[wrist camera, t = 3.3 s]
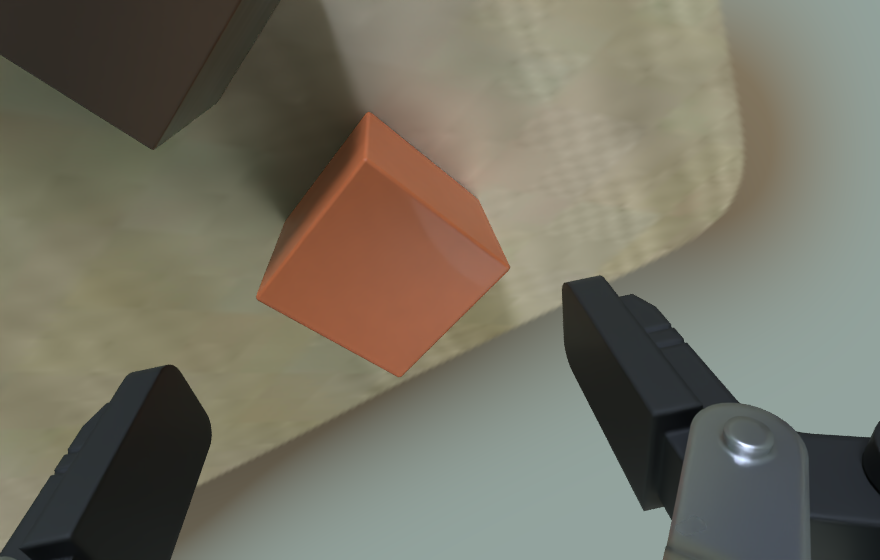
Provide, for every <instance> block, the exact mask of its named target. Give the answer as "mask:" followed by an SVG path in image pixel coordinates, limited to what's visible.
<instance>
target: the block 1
mask: <svg viewBox="0 0 880 560" xmlns="http://www.w3.org/2000/svg"><path fill="white" fill-rule="evenodd" d="M279 1H280V0H0V55H2V56H3V57H5V58H6V59H8V60H10V61H11V62H13V63H14V64H16V65H18V66H19V67H21V68H22V69H24V70H26V71H27V72H29V73H30V74H32V75H33V76H35V77H37V78H38V79H40V80H41V81H43V82H45V83H46V84H48V85H49V86H51V87H53V88H54V89H56V90H57V91H59V92H61V93H62V94H64V95H65V96H67V97H69V98H70V99H72V100H73V101H75V102H77V103H78V104H80V105H81V106H83V107H85V108H86V109H88V110H89V111H91V112H93V113H94V114H96V115H97V116H99V117H101V118H102V119H104V120H105V121H107V122H109V123H110V124H112V125H113V126H115V127H117V128H118V129H120V130H121V131H123V132H124V133H126V134H128V135H129V136H131V137H132V138H134V139H136V140H137V141H139V142H140V143H142V144H144V145H145V146H147V147H148V148H150V149H152V150H154V149H156V148H157V147H158V146H160V145H161V144H162V143H164V142H165V141H166V140H168V139H169V138H170V137H172V136H173V135H175V134H176V133H177V132H179V131H180V130H181V129H183V128H184V127H185V126H187V125H188V124H189V123H191V122H192V121H193V120H195V119H196V118H197V117H199V116H200V115H201V114H203V113H204V112H205V111H207V110H208V109H209V108H211V107H212V106H214V105H215V104H216V103H217V102H218V100H219V99H220V97H221V95H222V94H223V92H224V91H225V89H226V87H227V86H228V84H229V82H230V81H231V79H232V78H233V76H234V74H235V73H236V71H237V69H238V68H239V66H240V65H241V63H242V61H243V60H244V58H245V56H246V55H247V53H248V52H249V50H250V48H251V47H252V45H253V43H254V42H255V40H256V39H257V37H258V35H259V34H260V32H261V30H262V29H263V27H264V26H265V24H266V22H267V21H268V19H269V17H270V16H271V14H272V13H273V11H274V9H275V8H276V6H277V4H278V3H279Z"/></svg>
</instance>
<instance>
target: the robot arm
mask: <svg viewBox="0 0 880 560" xmlns="http://www.w3.org/2000/svg"><path fill="white" fill-rule="evenodd" d="M562 304H563V329H564V345H565V351H566V355H567V359H568V362H569V365H570V367H571V369H572V372H573V374H574V375H575V378H576V379H577V381H578V383H579V385H580V387H581V389H582V391H583V393H584V395H585V397H586V399H587V401H588V403H589V405H590V407H591V409H592V411H593V413H594V415H595V417H596V419H597V421H598V422H599V424H600V426H601V428H602V430H603V432H604V434H605V436H606V438H607V440H608V442H609V444H610V446H611V448H612V450H613V452H614V454H615V456H616V458H617V460H618V462H619V464H620V465H621V467H622V469H623V471H624V473H625V475H626V477H627V479H628V481H629V483H630V485H631V487H632V489H633V491H634V493H635V495H636V497H637V499H638V501H639V503H640V505H641V506H642V508H643V510H644V511H646V510H651V509H655V508H660V507H665V509H666V511H667V513H668V515H669V516H670V518H671V520H672V522H671V527H670V532H669V537H668V542H667V546H666V548H665V552H664V556H663V560H880V421H879V423H878V424H877V426H876V427H875V430H874V432H873V434H872V436H871V438H870V437H853V436H838V435H822V434H810V433H801V432H797V431H795V430H794V429H793V428H792V427H791V426H790V425H789V424H788V423H786V422H785V421H783V420H782V419H780V418H779V417H778V416H776V415H774V414H772V413H770V412H768V411H766V410H763V409H761V408H758V407H754V406H751V405H746V404H741V403H739V402H738V401H737V400H736V399H735V397H734V396H733V395H732V394H731V393H730V392H729V391H728V390H727V388H726V387H725V386H724V385H723V384H722V383H721V381H720V380H719V379H718V378H717V377H716V376H715V374H714V373H713V372H712V371H711V370H710V369H709V368H708V366H707V365H706V364H705V363H704V362H703V361H702V359H701V358H700V357H699V356H698V355H697V354H696V353H695V351H694V350H693V349H692V348H691V347H690V346H689V345H688V343H685V342H684V339H683V338H682V336H681V335H680V334H679V333H678V332H677V331H676V329H675V328H672V327H671V324H670V323H669V321H668V320H667V319H666V318H665V317H664V316H663V315H662V313H661V312H660V311H659V310H658V309H657V308H656V307H655V306H653V305H652V304H650V303H648V302H646V301H644V300H643V299H641V298H639V297H637V296H635V295H634V294H630V295H625V296H621V297H619V296H618V295H617V294H616V292H615V291H614V290H613V289H612V287H611V286H610V285H609V283H608V282H607V281H606V280H605V278H604V277H602V276H600V275H599V276H594V277H590V278H585V279H580V280H575V281H571V282H566V283H564V284H563V287H562ZM211 437H212V431H211V424H210V420H209V417H208V415H207V413H206V412H205V410H204V409H203V407H202V405H201V404H200V402H199V401H198V399H197V397H196V396H195V394H194V393H193V391H192V389H191V388H190V386H189V385H188V383H187V381H186V380H185V378H184V377H183V375H182V373H181V372H180V371H179V369H178V368H177V367H175V366H173V365H165V366H160V367H155V368H150V369H146V370H141V371H136V372H132V373H130V374H128V375H127V376H126V377H125V379H124V380H123V382H122V383H121V385H120V386H119V388H118V390H117V391H116V393H115V395H114V396H113V398H112V399H111V401H110V403H107V404H106V405H104V406H103V407H102V408H101V409H100V410H99V411H98V412H97V413H96V414H95V415H94V416H93V417H92V418H91V419H90V420H89V421H88V422H87V423H86V424H85V425H84V426H83V427H82V428H81V430H80V431H79V433H78V435H77V436H76V438H75V439H74V441H73V442H72V444H71V445H70V447H69V448H68V454H66V455H64V456H63V458H62V459H61V461H60V462H59V464H58V465H57V467H56V468H55V470H54V471H55V475H51V476H50V478H49V479H48V481H47V482H46V484H45V485H44V487H43V488H42V490H41V491H40V493H39V495H38V496H37V498H36V499H35V501H34V502H33V504H32V505H31V507H30V508H29V510H28V512H27V513H26V515H25V516H24V518H23V519H22V521H21V522H20V524H19V525H18V527H17V528H16V530H15V532H14V533H13V535H12V536H11V538H10V539H9V541H8V542H7V544H6V545H5V547H4V548H3V550H2V552H1V553H0V560H170V559H171V556H172V553H173V550H174V547H175V545H176V542H177V539H178V536H179V533H180V530H181V528H182V525H183V522H184V519H185V516H186V513H187V510H188V508H189V505H190V502H191V499H192V496H193V493H194V490H195V488H196V485H197V482H198V479H199V476H200V473H201V470H202V467H203V465H204V462H205V459H206V456H207V453H208V450H209V447H210V444H211Z"/></svg>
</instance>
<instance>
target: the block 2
mask: <svg viewBox="0 0 880 560" xmlns="http://www.w3.org/2000/svg"><path fill="white" fill-rule="evenodd" d="M509 269H510V266H509V264H508V261H507V259H506V257H505V255H504V253H503V251H502V249H501V247H500V244H499V242H498V240H497V238H496V236H495V234H494V232H493V230H492V227H491V225H490V223H489V221H488V219H487V217H486V215H485V213H484V210H483V208H482V206H481V204H480V202H479V200H478V199H477V198H476V197H475V196H473V195H472V194H471V193H470V192H468V191H467V190H466V189H465V188H463V187H462V186H461V185H460V184H458V183H457V182H456V181H455V180H454V179H452V178H451V177H450V176H449V175H447V174H446V173H445V172H444V171H442V170H441V169H440V168H439V167H437V166H436V165H435V164H434V163H433V162H431V161H430V160H429V159H428V158H426V157H425V156H424V155H423V154H421V153H420V152H419V151H418V150H416V149H415V148H414V147H413V146H412V145H410V144H409V143H408V142H407V141H405V140H404V139H403V138H402V137H400V136H399V135H398V134H397V133H395V132H394V131H393V130H392V129H391V128H389V127H388V126H387V125H386V124H384V123H383V122H382V121H381V120H379V119H378V118H377V117H376V116H374V115H373V114H372V113H370V112H367V113H366V114H365V115H364V117H363V118H362V119H361V121H360V122H359V123H358V125H357V126H356V127H355V129H354V130H353V131H352V133H351V134H350V135H349V137H348V138H347V139H346V141H345V142H344V143H343V145H342V146H341V147H340V149H339V150H338V151H337V153H336V154H335V155H334V157H333V158H332V159H331V161H330V162H329V163H328V165H327V166H326V167H325V169H324V170H323V171H322V173H321V174H320V175H319V177H318V178H317V179H316V181H315V182H314V183H313V185H312V186H311V187H310V189H309V190H308V191H307V193H306V194H305V195H304V197H303V198H302V199H301V201H300V202H299V203H298V205H297V206H296V207H295V209H294V210H293V211H292V213H291V214H290V215H289V217H288V218H287V219H286V221H285V223H284V225H283V228H282V231H281V233H280V236H279V238H278V241H277V243H276V246H275V249H274V251H273V254H272V256H271V259H270V262H269V264H268V267H267V269H266V272H265V274H264V277H263V280H262V282H261V285H260V287H259V290H258V293H257V295H256V299H257V300H258V301H260V302H262V303H264V304H266V305H267V306H269V307H271V308H273V309H275V310H277V311H278V312H280V313H282V314H284V315H286V316H288V317H289V318H291V319H293V320H295V321H297V322H298V323H300V324H302V325H304V326H306V327H308V328H309V329H311V330H313V331H315V332H317V333H319V334H320V335H322V336H324V337H326V338H328V339H330V340H331V341H333V342H335V343H337V344H339V345H340V346H342V347H344V348H346V349H348V350H350V351H351V352H353V353H355V354H357V355H359V356H361V357H362V358H364V359H366V360H368V361H370V362H372V363H373V364H375V365H377V366H379V367H381V368H383V369H384V370H386V371H388V372H390V373H392V374H393V375H395V376H397V377H401V376H402V375H403V374H404V373H405V372H406V371H407V370H408V369H409V368H410V367H412V366H413V365H414V364H415V363H416V362H417V361H418V360H419V359H420V358H421V357H422V356H423V355H424V354H425V353H426V352H427V351H428V350H429V349H430V348H431V347H432V346H433V345H434V344H435V343H436V342H437V341H438V340H439V339H440V338H441V337H442V336H443V335H444V334H445V333H446V332H447V331H448V330H449V329H450V328H451V327H452V326H453V325H454V324H455V323H456V322H457V321H458V320H459V319H460V318H461V317H462V316H463V315H464V314H465V313H466V312H467V311H468V310H469V309H470V308H471V307H472V306H473V305H474V304H475V303H476V302H477V301H478V300H479V299H480V298H481V297H482V296H483V295H484V294H485V293H486V292H487V291H488V290H489V289H490V288H491V287H492V286H493V285H494V284H495V283H496V282H497V281H498V280H499V279H500V278H501V277H502V276H503V275H504V274H505V273H506V272H507V271H508V270H509Z"/></svg>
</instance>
